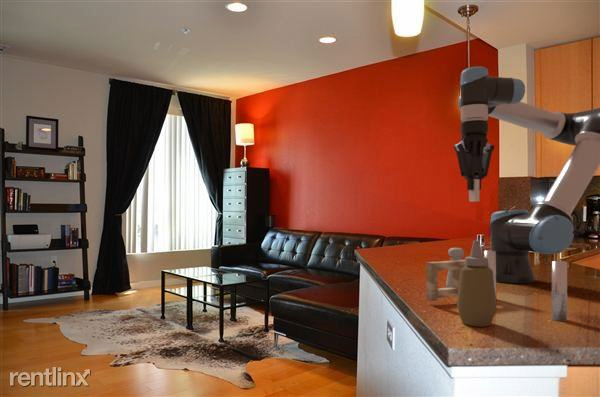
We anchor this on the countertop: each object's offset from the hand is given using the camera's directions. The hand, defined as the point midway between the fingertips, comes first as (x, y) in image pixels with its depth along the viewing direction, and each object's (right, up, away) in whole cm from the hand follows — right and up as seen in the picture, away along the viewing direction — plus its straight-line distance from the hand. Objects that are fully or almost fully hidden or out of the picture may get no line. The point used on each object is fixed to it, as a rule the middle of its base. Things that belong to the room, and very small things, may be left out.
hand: (474, 201), depth 133 cm
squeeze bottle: (-13, -27, -35) cm, 46 cm away
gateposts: (+4, -26, -21) cm, 34 cm away
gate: (-10, -25, -14) cm, 31 cm away
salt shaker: (-6, -27, -3) cm, 28 cm away
